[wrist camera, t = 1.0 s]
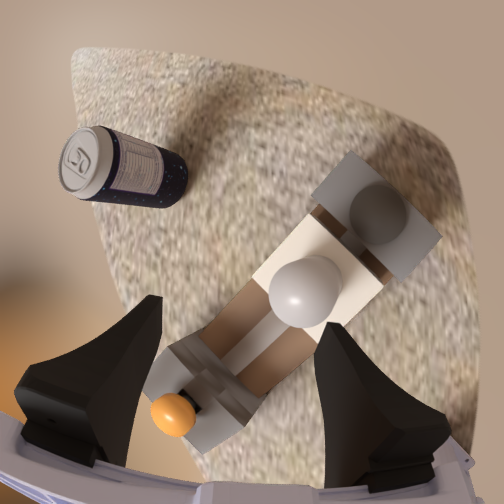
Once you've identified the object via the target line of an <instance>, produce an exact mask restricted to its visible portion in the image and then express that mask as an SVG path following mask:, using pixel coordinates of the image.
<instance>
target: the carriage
mask: <svg viewBox="0 0 504 504" xmlns="http://www.w3.org/2000/svg"><path fill="white" fill-rule="evenodd" d="M252 278H253V279H254V280H255V281H256V282H257V283H258V284H259V285H260V286H261V287H262V288H263V289H264V290H265V291H266V292H267V293H268V294H269V301H270V305H271V307H272V309H273V311H274V313H275V314H276V315H277V317H278V318H279V319H280V320H282V321H283V322H284V323H286V324H288V325H290V326H293V327H296V328H303V329H304V330H305V331H306V332H307V333H308V334H309V335H310V336H311V337H312V338H313V339H314V340H315V341H316V342H317V343H319V341H320V338H321V336H322V333H323V331H324V328H325V326H326V323H327V322H336V323H340V324H341V325H342V326H344V325H345V324H347V323H348V322H349V321H350V320H351V319H352V318H353V317H354V316H355V315H356V314H357V313H358V312H359V311H360V310H361V309H362V308H363V307H364V306H365V305H366V304H367V303H368V302H369V301H370V300H371V299H372V298H373V297H374V296H375V295H376V294H377V293H378V292H379V291H380V290H381V289H382V288H383V287H384V285H383V283H382V280H381V279H380V278H379V277H378V276H377V275H376V274H375V273H374V272H373V271H372V270H371V269H370V268H369V267H368V266H367V265H366V264H365V263H364V262H363V261H362V260H361V259H360V258H359V257H358V256H357V255H356V254H355V253H354V252H353V251H352V250H351V249H350V248H349V247H347V246H346V245H345V244H344V243H343V242H342V241H341V240H340V239H339V238H338V237H337V236H336V235H335V234H334V233H333V232H332V231H331V230H330V229H329V228H328V227H327V226H325V225H324V224H323V223H322V222H321V221H320V220H319V219H318V218H317V217H316V216H314V215H312V214H309V213H308V215H307V216H306V217H305V218H304V219H303V220H302V221H301V222H300V223H299V225H298V226H297V227H296V228H295V229H294V230H293V231H292V232H291V234H290V235H289V236H288V237H287V238H286V239H285V240H284V241H283V242H282V244H281V245H280V246H279V247H278V248H277V249H276V250H275V251H274V252H273V253H272V255H271V256H270V257H269V258H268V259H267V260H266V261H265V262H264V263H263V264H262V266H261V267H260V268H259V269H258V270H257V271H256V272H255V273H254V274H253V275H252Z"/></svg>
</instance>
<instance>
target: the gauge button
mask: <svg viewBox="0 0 504 504" xmlns="http://www.w3.org/2000/svg"><path fill="white" fill-rule="evenodd" d="M195 408H196V402H195V401H194V400H193V399H192V398H191V396H189V395H182V396H180V395H178V394H175V393H166V394H164V395H162V396H161V397H159V398H158V399H157V400H155V401H154V402H153V403H152V405H151V415H152V418H153V420H154V422H155V423H156V425H157V426H158V427H159V428H160V429H161V430H162V431H164V432H165V433H167V434H168V435H171V436H174V437H181V436H184V435H185V434H186V433H187V432H188V431H189V430H190V429H191V428H193V427H194V425H195V423H196V414H195V411H194V409H195Z"/></svg>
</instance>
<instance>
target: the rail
mask: <svg viewBox="0 0 504 504" xmlns="http://www.w3.org/2000/svg"><path fill="white" fill-rule="evenodd" d="M311 196H312V197H313V198H314V199H315V200H316V201H317V202H319V205H318V206H317V207H316V208H315V209H314V210H313V211H312V212H311V213H310V214H312V215H314V216H316V217H317V218H318V219H319V220H320V221H321V222H322V223H323V224H324V225H325V226H327V227H328V228H329V229H330V230H331V231H332V232H333V233H334V234H335V235H336V236H337V237H338V238H339V239H340V240H341V241H342V242H343V243H344V244H345V245H346V246H347V247H349V248H350V249H351V250H352V251H353V252H354V253H355V254H356V255H357V256H358V257H359V258H360V259H361V260H362V261H363V262H364V263H365V264H366V265H367V266H368V267H369V268H370V269H371V270H372V271H373V272H374V273H375V274H376V275H377V276H378V277H379V278H380V279H381V280H382V283H383V285H385V284H386V283H387V282H388V281H389V280H390V279H391V278H392V277H393V276H395V277H396V278H397V279H398V280H399V281H400V282H402V281H403V280H404V279H405V278H406V277H407V276H408V275H409V274H410V273H411V272H412V271H413V270H414V268H415V267H416V266H417V265H418V264H419V263H420V262H421V261H422V260H423V258H424V257H425V256H426V255H427V254H428V253H429V252H430V250H431V249H432V248H433V247H434V246H435V245H436V244H437V242H438V241H439V240H440V239H441V238H442V235H441V234H440V233H439V232H438V231H437V230H436V229H435V228H434V227H433V226H432V224H431V223H430V222H429V221H428V220H427V219H426V218H425V217H424V216H423V215H422V214H421V213H420V212H419V211H418V210H417V209H416V208H415V207H414V206H413V205H412V204H411V203H410V202H409V201H408V200H407V199H405V198H404V197H403V196H402V195H401V194H400V193H399V192H398V191H397V190H396V189H395V188H394V187H393V186H392V185H391V184H390V183H388V182H387V181H386V180H385V179H384V178H383V177H382V176H381V175H380V174H378V173H377V172H376V171H375V170H374V169H373V168H372V167H371V166H369V165H368V164H367V163H366V162H365V161H364V160H362V159H361V158H360V157H359V156H358V155H357V154H355V153H354V152H353V151H352V150H350V151H349V152H348V154H347V155H346V156H345V157H344V158H343V159H342V160H341V162H340V163H339V164H338V165H337V166H336V167H335V168H334V169H333V171H332V172H331V173H330V174H329V175H328V176H327V177H326V179H325V180H324V181H323V182H322V183H321V184H320V185H319V186H318V188H317V189H316V190H315V191H314V192H313V193H312V194H311ZM317 345H318V343H317V342H316V341H315V340H314V339H313V338H312V337H311V336H310V335H309V334H308V333H307V332H306V331H305V330H304V329H303V328H296V327H293V326H290V325H288V324H286V323H284V322H283V321H282V320H280V319H279V318H278V317H277V315H276V314H275V313H274V311H273V309H272V307H271V305H270V301H269V294H268V293H267V292H266V291H265V290H264V289H263V288H262V287H261V286H260V285H259V284H258V283H257V282H256V281H255V280H254V279H253V278H252V279H251V280H250V281H249V282H248V283H247V284H246V285H245V286H244V287H243V288H242V290H241V291H240V292H239V293H238V294H237V295H236V296H235V297H234V298H233V299H232V300H231V302H230V303H229V304H228V305H227V306H226V307H225V308H224V309H223V310H222V311H221V312H220V313H219V315H218V316H217V317H216V318H215V319H214V320H213V321H212V322H211V323H210V324H209V325H208V326H207V327H206V329H205V330H204V329H203V328H202V329H200V330H198V331H196V332H194V333H192V334H190V335H189V336H187V337H185V338H183V339H181V340H179V341H177V342H175V343H173V344H171V345H169V346H167V347H166V349H165V350H164V351H163V352H162V353H161V354H160V355H159V357H158V358H157V359H156V360H155V361H154V362H153V364H152V366H151V369H150V371H149V374H148V376H147V379H146V381H145V384H144V386H143V389H142V391H143V392H144V394H145V395H146V396H147V397H148V398H149V399H150V400H151V402H152V403H153V402H154V401H155V400H157V399H158V398H159V397H161V396H162V395H164V394H166V393H175V394H178V395H180V396H182V395H189V396H191V398H192V399H193V400H194V401H195V402H196V408H195V409H194V411H195V414H196V423H195V425H194V427H193V428H191V429H190V430H189V431H188V432H187V433H186V434H185V435H184V437H185V438H186V439H187V440H188V441H189V442H190V443H191V444H192V445H193V446H194V447H195V448H196V449H197V450H198V451H199V452H200V453H201V454H202V455H203V454H205V453H206V452H208V451H209V450H211V449H212V448H214V447H216V446H217V445H219V444H220V443H222V442H223V441H225V440H226V439H228V438H229V437H231V436H232V435H234V434H235V433H237V432H238V431H240V430H241V429H243V428H244V427H245V426H246V424H247V423H248V422H249V420H250V419H251V418H252V416H253V415H254V413H255V412H256V411H257V409H258V408H259V406H260V405H261V404H262V402H263V401H264V399H265V398H266V396H267V395H266V394H265V393H266V392H268V391H269V390H270V389H271V388H273V387H274V386H275V385H276V384H278V383H279V382H280V381H281V380H282V379H284V378H285V377H286V376H287V375H288V374H290V373H291V372H292V371H293V370H294V369H296V368H297V367H298V366H299V365H300V364H301V363H303V362H304V361H305V360H306V359H307V358H308V357H310V356H311V355H312V354H313V353H314V352H315V350H316V348H317Z"/></svg>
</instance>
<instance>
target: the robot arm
mask: <svg viewBox="0 0 504 504" xmlns="http://www.w3.org/2000/svg"><path fill="white" fill-rule="evenodd" d="M162 302H163V297H160V296H155V295H148V296H146V297H145V298H144V299H143V300H142V301H141V302H140V303H139V304H138V305H137V306H136V307H135V308H133V309H132V310H131V311H130V312H129V313H128V314H127V315H126V316H124V317H123V318H122V319H121V320H120V321H119V322H117V323H116V324H115V325H113V326H112V327H111V328H109V329H108V330H107V331H105V332H104V333H103V334H101V335H100V336H98V337H97V338H95V339H93V340H92V341H90V342H89V343H87V344H85V345H83V346H81V347H79V348H77V349H75V350H73V351H71V352H69V353H67V354H64V355H61V356H59V357H56V358H54V359H51V360H47V361H44V362H40V363H37V364H33V365H30V366H29V367H28V369H27V370H26V371H25V373H24V375H23V376H22V378H21V380H20V381H19V383H18V385H17V387H16V388H15V390H14V395H15V397H16V400H17V402H18V404H19V405H20V407H21V409H22V411H23V412H24V414H25V415H26V417H27V421H26V423H25V425H24V424H23V423H21V422H20V421H18V420H17V419H15V418H13V417H11V416H9V415H7V414H5V413H4V412H2V411H0V481H1V482H2V483H4V484H6V485H8V486H9V487H11V488H13V489H15V490H16V491H18V492H20V493H22V494H24V495H26V496H28V497H29V498H31V499H33V500H35V501H37V502H39V503H41V504H485V503H484V501H483V499H482V498H480V497H476V496H475V492H474V488H473V485H472V481H471V478H470V475H469V471H468V470H469V469H470V468H471V467H473V466H474V464H475V461H474V460H473V459H472V457H471V456H470V455H469V454H468V453H467V452H466V451H465V450H464V449H463V448H462V447H461V446H460V445H459V444H458V443H457V442H456V441H455V440H454V439H453V438H452V437H451V436H450V434H451V427H450V425H449V423H448V420H447V418H446V416H445V414H443V413H441V412H439V411H437V410H435V409H433V408H431V407H429V406H427V405H425V404H424V403H422V402H420V401H419V400H417V399H416V398H414V397H413V396H411V395H410V394H408V393H407V392H406V391H404V390H403V389H401V388H400V387H399V386H398V385H396V384H395V383H394V382H393V381H392V380H391V379H389V378H388V377H387V376H386V375H385V374H384V373H383V372H382V371H381V370H380V369H379V368H378V367H377V366H376V365H375V364H374V363H373V362H372V361H371V360H370V359H369V357H368V356H367V355H366V354H365V353H364V352H363V350H362V349H361V348H360V347H359V346H358V344H357V343H356V342H355V341H354V339H353V338H352V337H351V336H350V334H349V333H348V332H347V331H346V330H345V328H344V327H343V326H342V325H341V324H340V323H336V322H327V323H326V326H325V328H324V331H323V333H322V336H321V338H320V341H319V343H318V345H317V348H316V350H315V353H314V367H315V376H316V382H317V387H318V392H319V397H320V402H321V407H322V412H323V419H324V431H325V483H324V489H316V488H313V487H311V486H309V485H297V484H294V485H293V484H257V483H242V482H231V481H212V482H206V483H196V482H189V481H183V480H178V479H172V478H167V477H162V476H157V475H152V474H148V473H144V472H140V471H136V470H131V469H128V468H125V465H126V459H127V452H128V447H129V442H130V436H131V432H132V427H133V422H134V418H135V413H136V409H137V406H138V402H139V398H140V395H141V392H142V389H143V386H144V384H145V381H146V379H147V376H148V374H149V371H150V369H151V366H152V364H153V361H154V358H155V356H156V353H157V350H158V347H159V343H160V339H161V335H162ZM466 459H468V460H466ZM465 460H466V461H465Z"/></svg>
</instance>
